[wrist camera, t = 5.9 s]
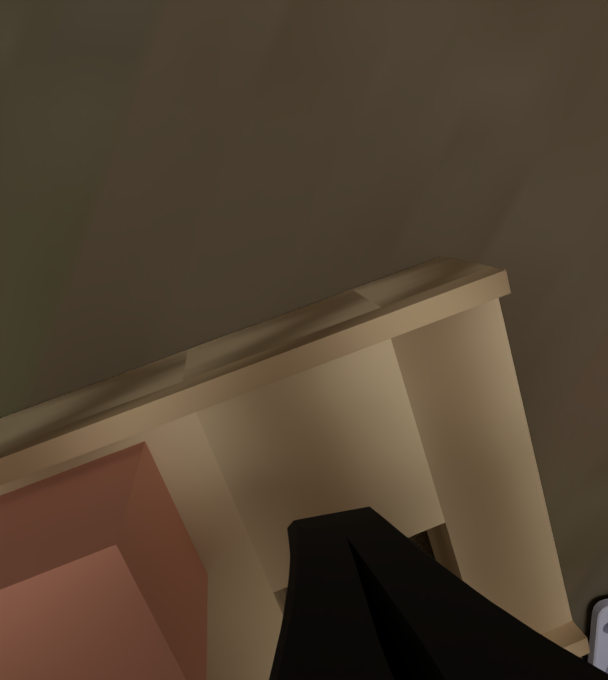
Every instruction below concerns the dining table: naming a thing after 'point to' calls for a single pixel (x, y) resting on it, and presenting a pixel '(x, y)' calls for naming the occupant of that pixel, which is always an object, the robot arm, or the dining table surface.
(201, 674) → the brick block
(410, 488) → the trap tray
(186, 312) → the dining table surface
